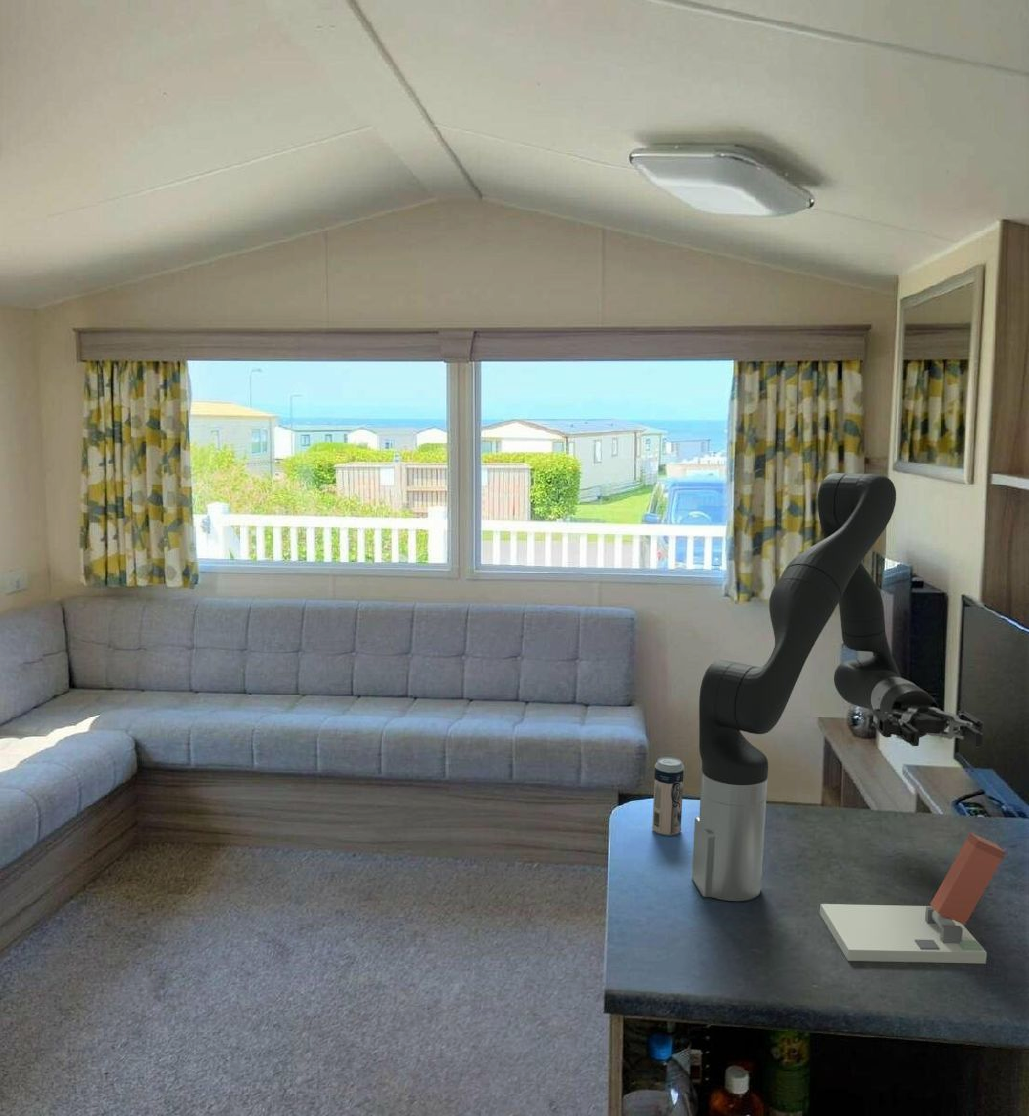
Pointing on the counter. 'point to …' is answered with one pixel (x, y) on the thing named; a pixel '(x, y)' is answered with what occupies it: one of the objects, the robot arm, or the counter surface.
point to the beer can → (668, 796)
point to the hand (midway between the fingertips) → (947, 740)
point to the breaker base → (899, 935)
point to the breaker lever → (966, 881)
